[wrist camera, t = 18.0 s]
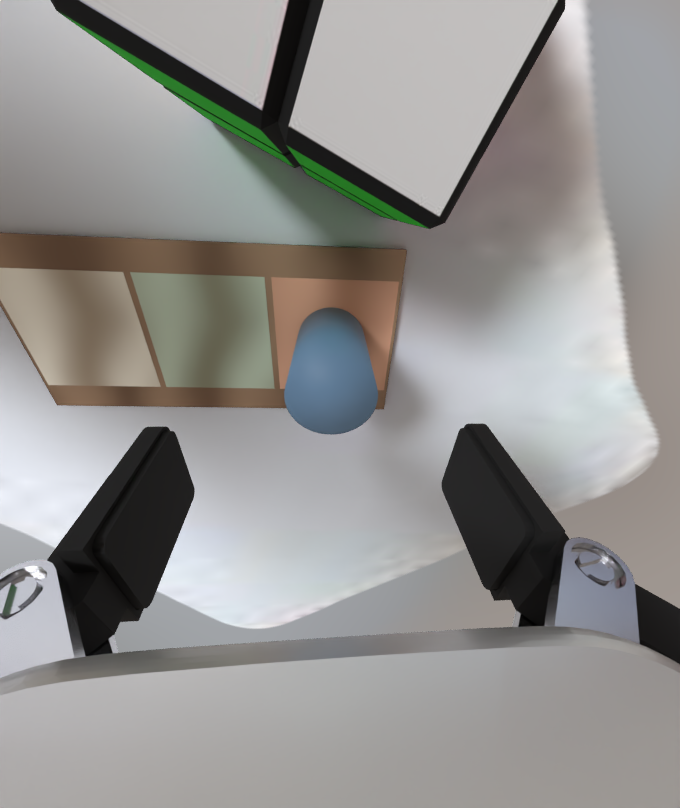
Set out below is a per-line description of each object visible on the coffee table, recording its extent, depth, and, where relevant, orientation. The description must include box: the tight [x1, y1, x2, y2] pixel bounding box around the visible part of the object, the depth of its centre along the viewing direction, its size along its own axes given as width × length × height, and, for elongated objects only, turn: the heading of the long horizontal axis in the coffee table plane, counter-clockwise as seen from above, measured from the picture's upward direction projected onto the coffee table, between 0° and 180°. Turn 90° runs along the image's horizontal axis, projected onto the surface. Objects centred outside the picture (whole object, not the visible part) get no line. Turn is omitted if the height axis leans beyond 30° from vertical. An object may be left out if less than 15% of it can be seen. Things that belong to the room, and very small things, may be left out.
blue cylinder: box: [284, 307, 378, 434], centre depth 17 cm, size 4×4×7 cm
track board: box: [0, 233, 407, 409], centre depth 20 cm, size 24×11×1 cm, turn 88°
